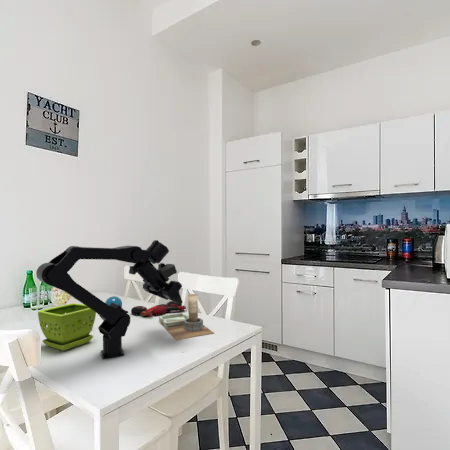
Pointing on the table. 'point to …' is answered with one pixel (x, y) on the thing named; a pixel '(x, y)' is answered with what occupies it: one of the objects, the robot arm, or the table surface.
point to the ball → (114, 301)
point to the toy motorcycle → (157, 309)
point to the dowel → (193, 308)
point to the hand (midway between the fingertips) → (174, 301)
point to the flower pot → (66, 325)
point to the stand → (183, 326)
